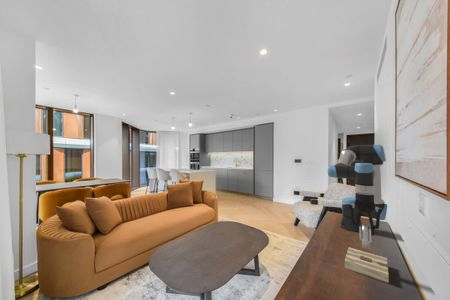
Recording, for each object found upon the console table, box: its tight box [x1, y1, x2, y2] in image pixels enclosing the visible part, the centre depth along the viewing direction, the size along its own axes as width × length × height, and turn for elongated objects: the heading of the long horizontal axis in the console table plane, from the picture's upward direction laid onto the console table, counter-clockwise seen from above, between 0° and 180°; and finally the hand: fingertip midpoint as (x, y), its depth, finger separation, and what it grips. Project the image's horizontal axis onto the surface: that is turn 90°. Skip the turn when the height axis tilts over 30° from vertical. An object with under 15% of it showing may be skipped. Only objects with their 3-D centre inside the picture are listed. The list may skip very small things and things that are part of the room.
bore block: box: [344, 247, 390, 284], centre depth 88 cm, size 16×16×4 cm
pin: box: [361, 224, 371, 251], centre depth 88 cm, size 3×3×11 cm
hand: (365, 240), depth 88 cm, fingers closed on pin, 3 cm apart
